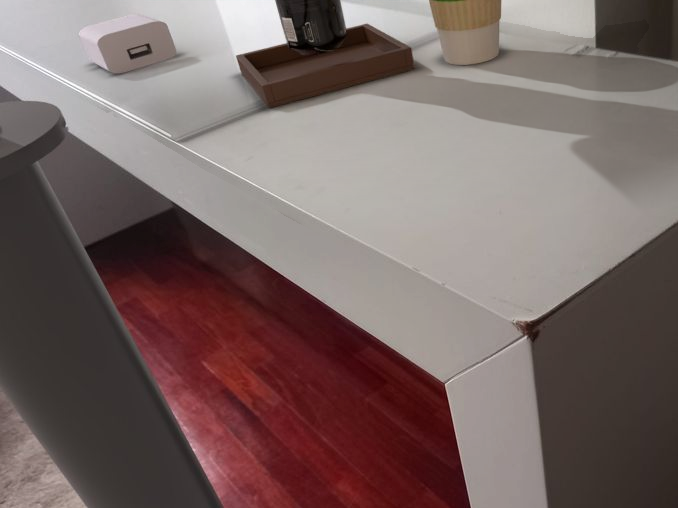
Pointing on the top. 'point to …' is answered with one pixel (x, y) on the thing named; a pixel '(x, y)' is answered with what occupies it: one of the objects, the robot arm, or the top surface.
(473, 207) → the top surface
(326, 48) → the beverage can
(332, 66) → the holder
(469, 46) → the coffee cup
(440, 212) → the top surface
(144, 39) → the charger
